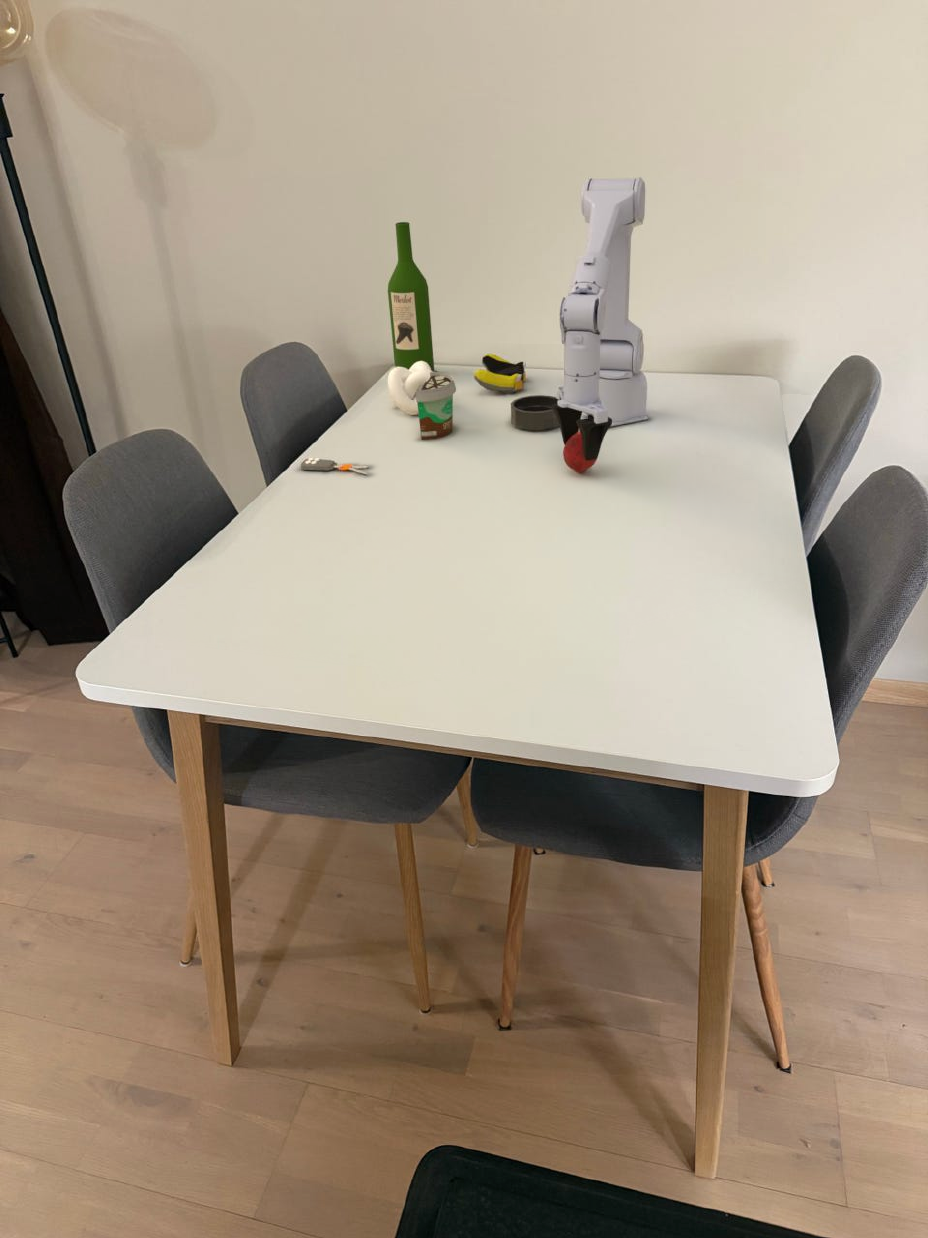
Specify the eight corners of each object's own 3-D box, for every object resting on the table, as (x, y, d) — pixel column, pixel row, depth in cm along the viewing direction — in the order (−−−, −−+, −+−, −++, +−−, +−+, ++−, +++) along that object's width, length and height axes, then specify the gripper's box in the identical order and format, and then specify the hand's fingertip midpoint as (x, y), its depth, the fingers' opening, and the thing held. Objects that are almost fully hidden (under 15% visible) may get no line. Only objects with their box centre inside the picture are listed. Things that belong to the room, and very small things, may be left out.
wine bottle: (392, 381, 205) (376, 227, 188) (400, 369, 212) (386, 220, 195) (430, 381, 204) (418, 225, 186) (437, 369, 211) (427, 218, 194)
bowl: (549, 411, 182) (549, 392, 180) (572, 426, 174) (572, 406, 172) (503, 420, 179) (502, 400, 177) (524, 436, 171) (523, 415, 169)
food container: (451, 443, 170) (447, 391, 165) (419, 442, 171) (415, 391, 166) (464, 420, 180) (461, 371, 175) (434, 420, 181) (430, 370, 176)
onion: (575, 482, 151) (575, 437, 147) (556, 471, 156) (556, 427, 151) (604, 474, 153) (605, 429, 149) (585, 464, 158) (585, 420, 154)
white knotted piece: (383, 403, 192) (378, 361, 187) (437, 395, 194) (434, 354, 190) (394, 420, 182) (390, 376, 178) (451, 411, 185) (448, 368, 180)
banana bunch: (473, 397, 192) (520, 397, 190) (472, 371, 189) (519, 371, 187) (484, 376, 205) (528, 375, 203) (483, 351, 202) (527, 351, 200)
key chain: (299, 471, 162) (298, 463, 161) (307, 463, 165) (306, 456, 164) (366, 475, 159) (366, 467, 158) (374, 467, 162) (373, 459, 161)
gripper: (540, 364, 150) (540, 441, 157) (580, 387, 138) (579, 470, 145) (578, 357, 152) (577, 434, 159) (620, 380, 140) (617, 462, 147)
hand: (580, 451), depth 152 cm, fingers open, 7 cm apart
